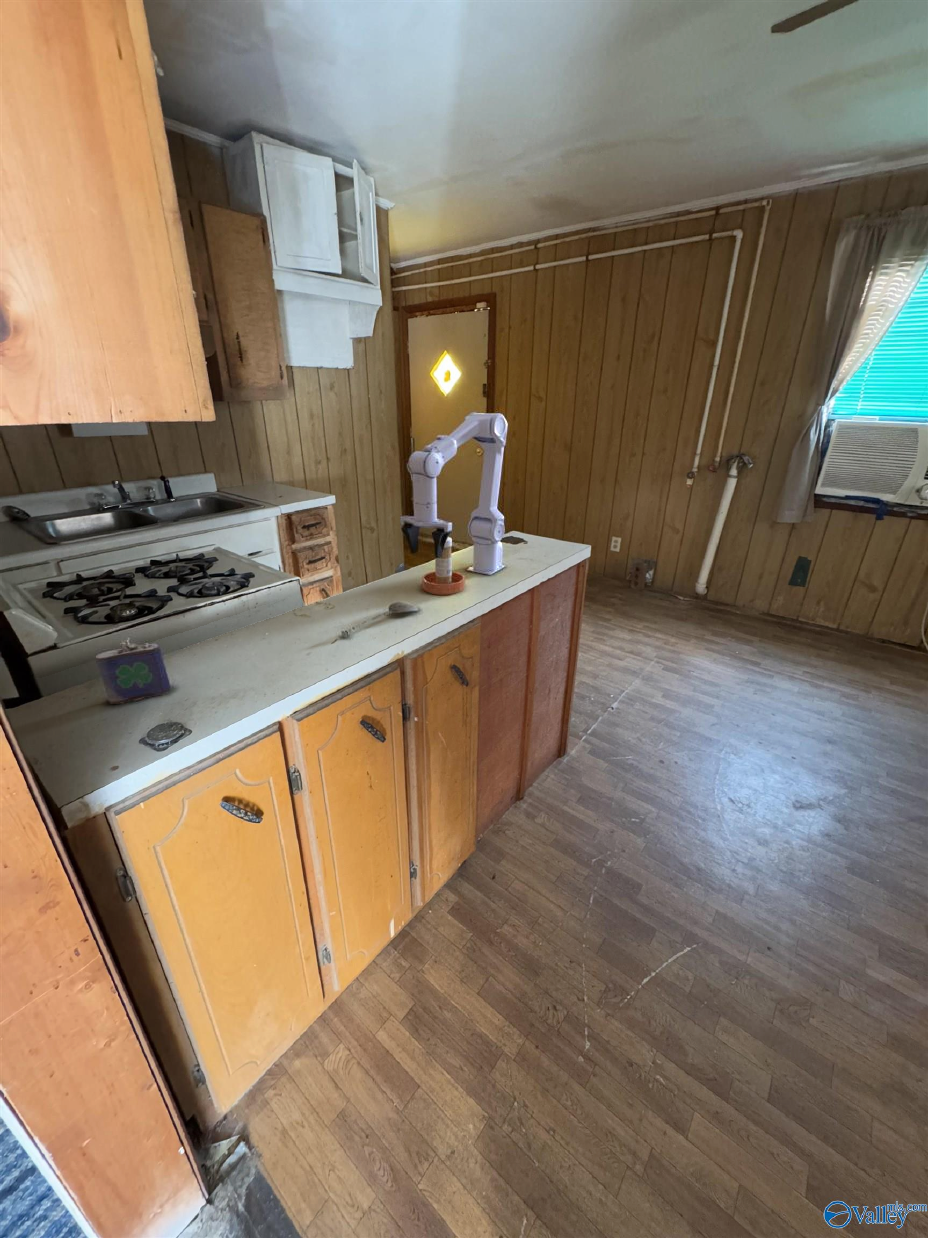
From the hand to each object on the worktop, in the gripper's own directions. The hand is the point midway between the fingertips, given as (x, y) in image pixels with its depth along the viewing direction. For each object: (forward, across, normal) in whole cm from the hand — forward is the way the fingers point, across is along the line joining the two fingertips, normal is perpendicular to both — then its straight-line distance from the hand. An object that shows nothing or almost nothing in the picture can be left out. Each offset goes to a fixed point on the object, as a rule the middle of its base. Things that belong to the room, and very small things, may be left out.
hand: (426, 554), depth 130 cm
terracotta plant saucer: (+10, +2, +5) cm, 12 cm away
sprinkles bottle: (+10, +2, +5) cm, 11 cm away
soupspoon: (+10, +2, -22) cm, 24 cm away
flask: (+10, -13, -68) cm, 70 cm away
